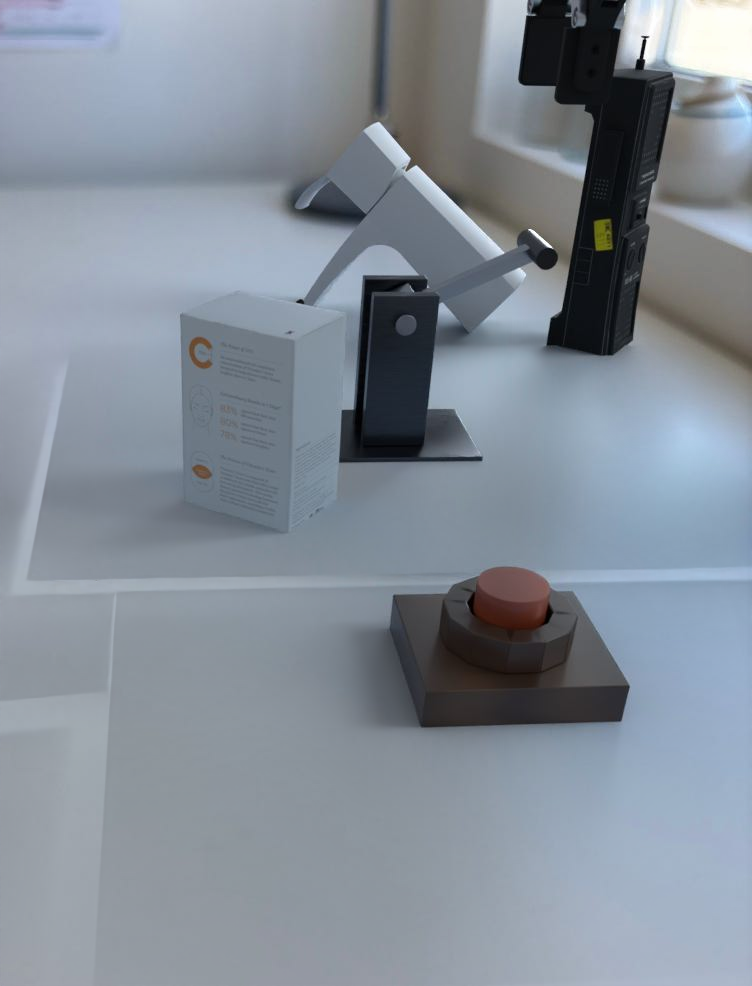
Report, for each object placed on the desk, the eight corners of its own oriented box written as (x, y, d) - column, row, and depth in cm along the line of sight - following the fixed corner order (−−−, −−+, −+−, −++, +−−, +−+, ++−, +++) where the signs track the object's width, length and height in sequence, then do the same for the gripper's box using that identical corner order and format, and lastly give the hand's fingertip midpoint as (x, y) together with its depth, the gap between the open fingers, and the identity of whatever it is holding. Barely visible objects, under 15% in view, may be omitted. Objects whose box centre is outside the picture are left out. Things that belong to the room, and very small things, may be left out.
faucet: (517, 289, 101) (360, 121, 99) (394, 405, 111) (248, 255, 108) (529, 271, 106) (380, 111, 104) (410, 384, 116) (271, 240, 113)
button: (533, 594, 59) (539, 565, 58) (554, 632, 56) (560, 601, 55) (465, 596, 58) (469, 566, 57) (482, 634, 55) (486, 603, 54)
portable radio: (604, 370, 98) (668, 46, 84) (539, 356, 101) (590, 40, 87) (633, 346, 104) (697, 39, 90) (571, 333, 106) (623, 33, 93)
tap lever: (541, 251, 79) (531, 218, 77) (562, 271, 74) (553, 237, 73) (379, 324, 80) (367, 293, 79) (391, 347, 76) (378, 315, 75)
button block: (566, 624, 63) (579, 561, 61) (621, 722, 56) (638, 654, 53) (389, 628, 62) (395, 564, 60) (421, 728, 55) (429, 660, 52)
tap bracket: (453, 423, 87) (472, 267, 81) (481, 472, 80) (504, 305, 73) (298, 424, 86) (305, 266, 80) (311, 474, 79) (320, 305, 72)
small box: (338, 509, 74) (351, 311, 67) (286, 547, 70) (294, 339, 63) (236, 478, 78) (237, 287, 71) (180, 512, 73) (176, 312, 66)
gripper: (751, -285, 54) (670, 117, 64) (626, -246, 69) (576, 77, 78) (599, -292, 54) (541, 115, 63) (505, -252, 68) (469, 75, 78)
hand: (560, 92), depth 71 cm, fingers open, 7 cm apart
